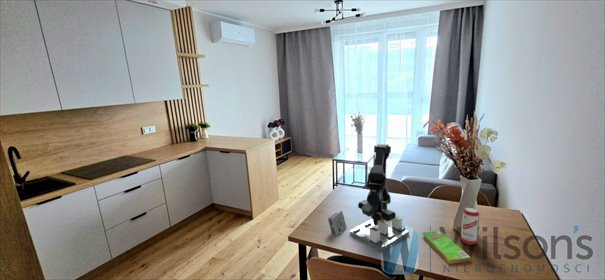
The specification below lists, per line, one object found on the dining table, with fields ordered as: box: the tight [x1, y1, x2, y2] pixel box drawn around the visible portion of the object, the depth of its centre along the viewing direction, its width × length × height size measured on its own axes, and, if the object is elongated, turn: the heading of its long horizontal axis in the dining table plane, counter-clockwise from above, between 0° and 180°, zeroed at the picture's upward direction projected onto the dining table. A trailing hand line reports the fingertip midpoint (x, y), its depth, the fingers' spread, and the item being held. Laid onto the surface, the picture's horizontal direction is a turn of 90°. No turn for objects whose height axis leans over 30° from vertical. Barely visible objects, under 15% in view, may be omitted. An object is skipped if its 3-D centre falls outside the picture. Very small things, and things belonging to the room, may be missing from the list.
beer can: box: [460, 206, 480, 245], centre depth 123 cm, size 6×6×16 cm
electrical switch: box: [327, 210, 347, 236], centre depth 138 cm, size 9×5×9 cm, turn 141°
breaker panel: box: [349, 217, 410, 253], centre depth 133 cm, size 21×19×3 cm
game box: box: [422, 230, 471, 265], centre depth 121 cm, size 3×10×20 cm
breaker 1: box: [369, 227, 380, 243], centre depth 124 cm, size 3×4×6 cm, turn 36°
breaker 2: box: [378, 219, 390, 234], centre depth 130 cm, size 3×4×6 cm, turn 37°
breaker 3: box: [391, 214, 403, 230], centre depth 134 cm, size 3×4×6 cm, turn 36°
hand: (375, 225), depth 134 cm, fingers closed
